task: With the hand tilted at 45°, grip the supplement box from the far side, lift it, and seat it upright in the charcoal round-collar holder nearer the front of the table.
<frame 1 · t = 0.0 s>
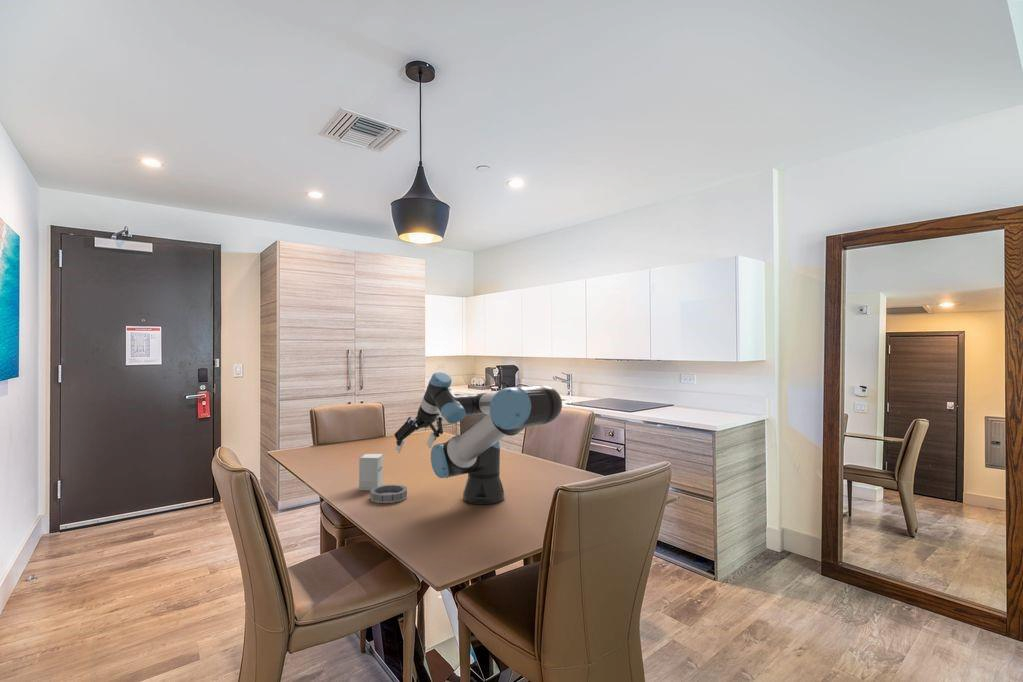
hand: (413, 448, 190), 15 cm above the table, tool tilted 35°, fingers open, 13 cm apart
round holder: (388, 497, 176), on the table
supplement box: (370, 488, 188), on the table
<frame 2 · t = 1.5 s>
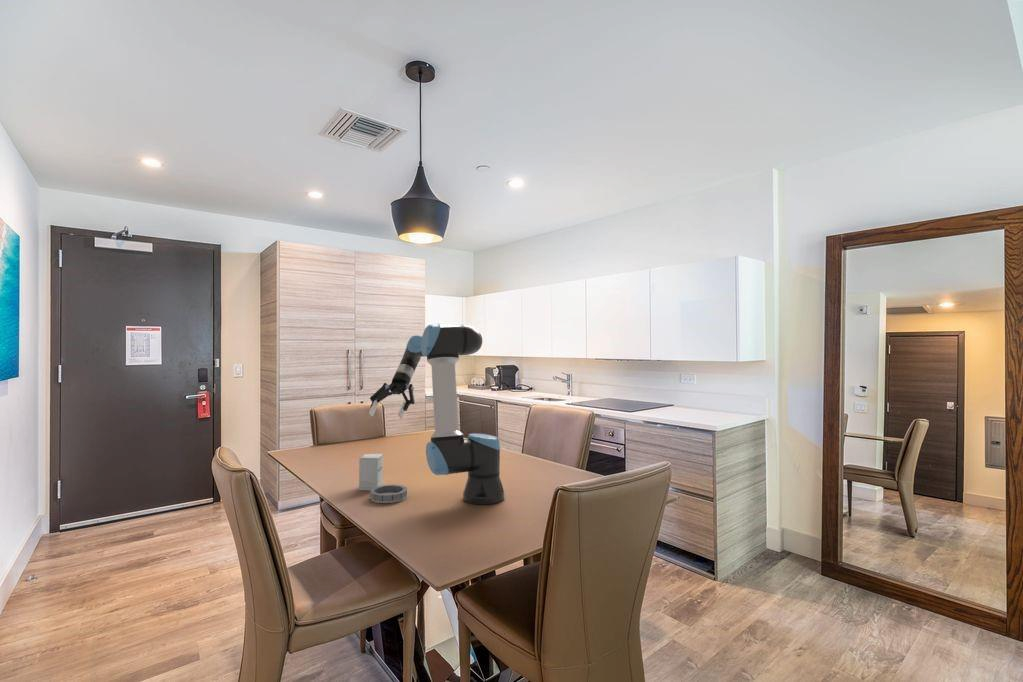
hand: (385, 415, 199), 27 cm above the table, tool tilted 45°, fingers open, 13 cm apart
nothing on the table moved.
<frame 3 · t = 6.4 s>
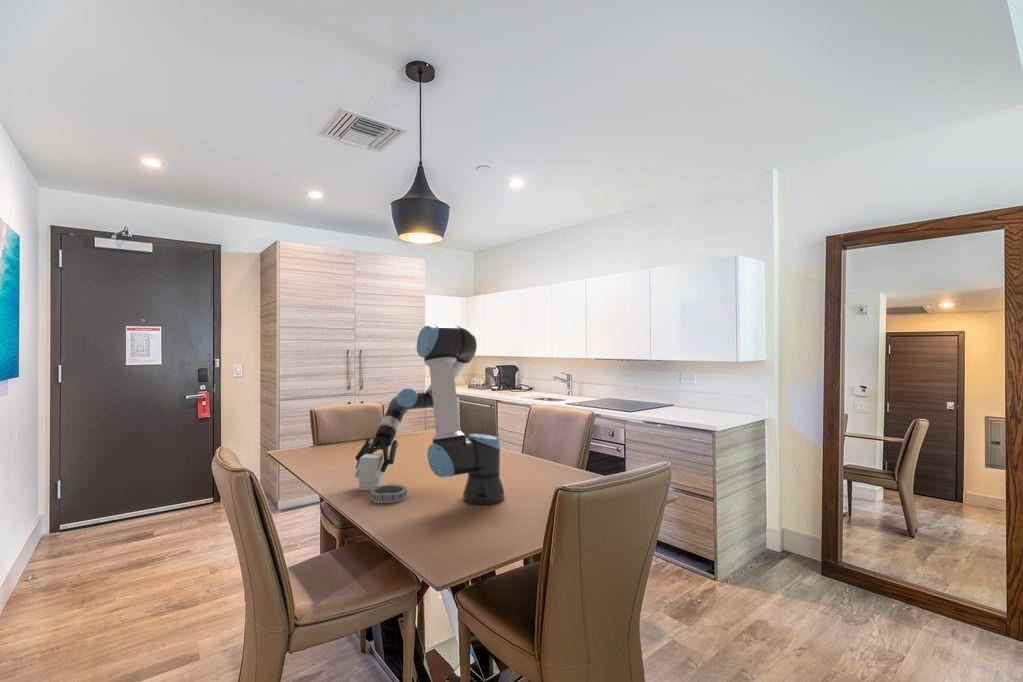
hand: (366, 477, 185), 5 cm above the table, tool tilted 45°, fingers closed on supplement box, 9 cm apart
supplement box: (370, 488, 188), on the table, touching gripper
when the fingers open (7 cm above the table, at t = 11.6 s): supplement box stays where it is, resting on round holder.
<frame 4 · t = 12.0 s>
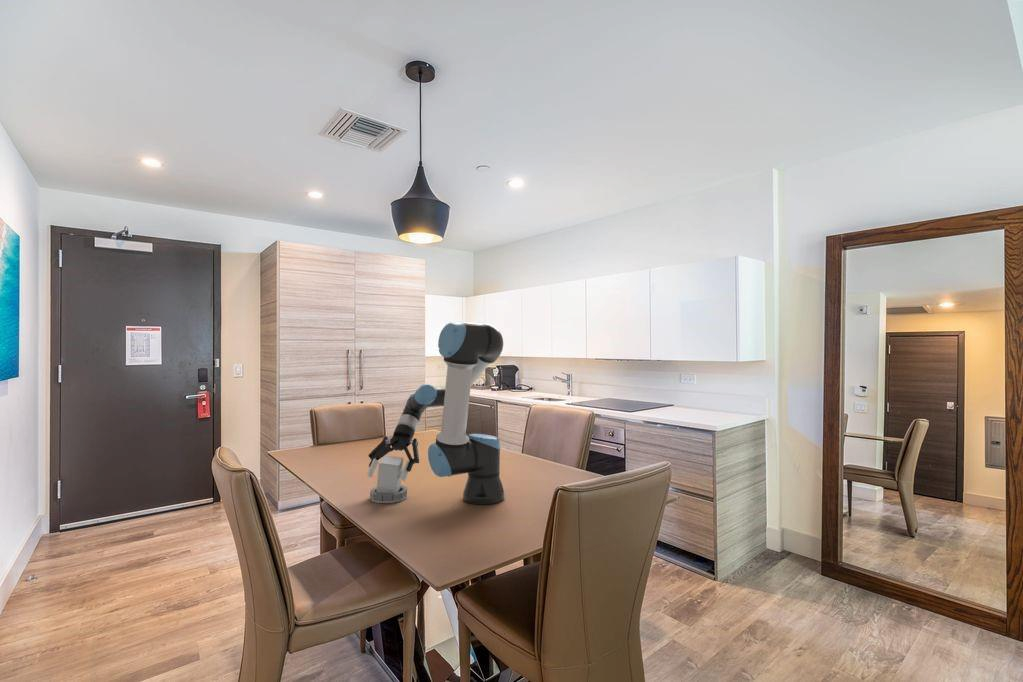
hand: (385, 477, 173), 8 cm above the table, tool tilted 45°, fingers open, 13 cm apart
supplement box: (388, 492, 176), point 2 cm above the table, touching round holder
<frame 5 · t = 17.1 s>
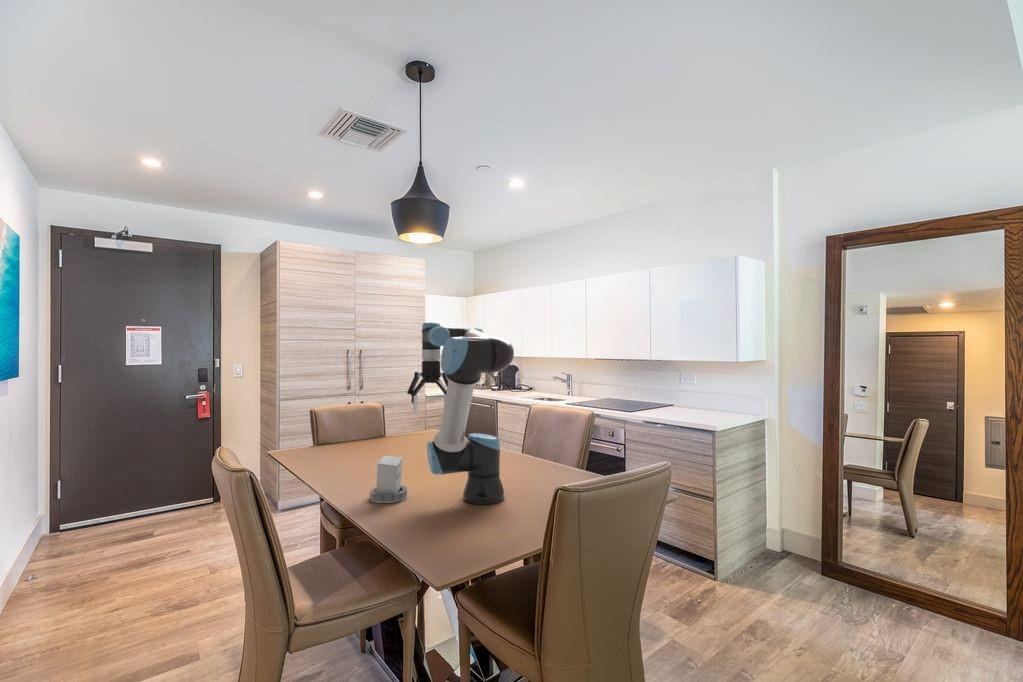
hand: (430, 412, 196), 29 cm above the table, tool pointing down, fingers open, 13 cm apart
nothing on the table moved.
at the end: supplement box 0.3 cm off-centre on the round holder, point 1.8 cm above the round holder's base; supplement box tilted 13°; the gripper is holding nothing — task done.
